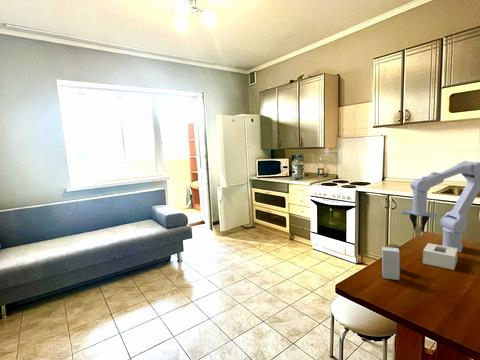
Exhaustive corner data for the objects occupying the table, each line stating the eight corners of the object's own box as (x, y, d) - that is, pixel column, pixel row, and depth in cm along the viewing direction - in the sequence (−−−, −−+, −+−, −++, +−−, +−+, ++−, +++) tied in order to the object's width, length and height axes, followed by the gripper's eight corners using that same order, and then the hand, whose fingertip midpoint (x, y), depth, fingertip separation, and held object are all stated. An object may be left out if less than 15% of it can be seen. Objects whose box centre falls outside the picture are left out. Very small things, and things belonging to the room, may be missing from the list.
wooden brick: (416, 232, 135) (417, 224, 134) (422, 233, 133) (423, 225, 133) (414, 235, 132) (415, 226, 131) (420, 236, 130) (421, 227, 129)
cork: (397, 265, 118) (397, 242, 117) (404, 272, 112) (404, 247, 111) (382, 265, 119) (383, 242, 118) (389, 272, 113) (389, 247, 112)
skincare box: (398, 275, 110) (398, 248, 108) (399, 280, 106) (400, 252, 105) (381, 273, 113) (382, 246, 111) (382, 278, 109) (382, 250, 107)
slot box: (427, 255, 127) (427, 243, 126) (456, 261, 119) (457, 248, 119) (422, 263, 119) (423, 250, 119) (454, 270, 112) (454, 256, 111)
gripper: (400, 203, 133) (400, 229, 134) (436, 206, 122) (435, 235, 124) (404, 200, 138) (403, 226, 139) (439, 203, 127) (438, 231, 129)
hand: (419, 230), depth 132 cm, fingers closed on wooden brick, 2 cm apart
